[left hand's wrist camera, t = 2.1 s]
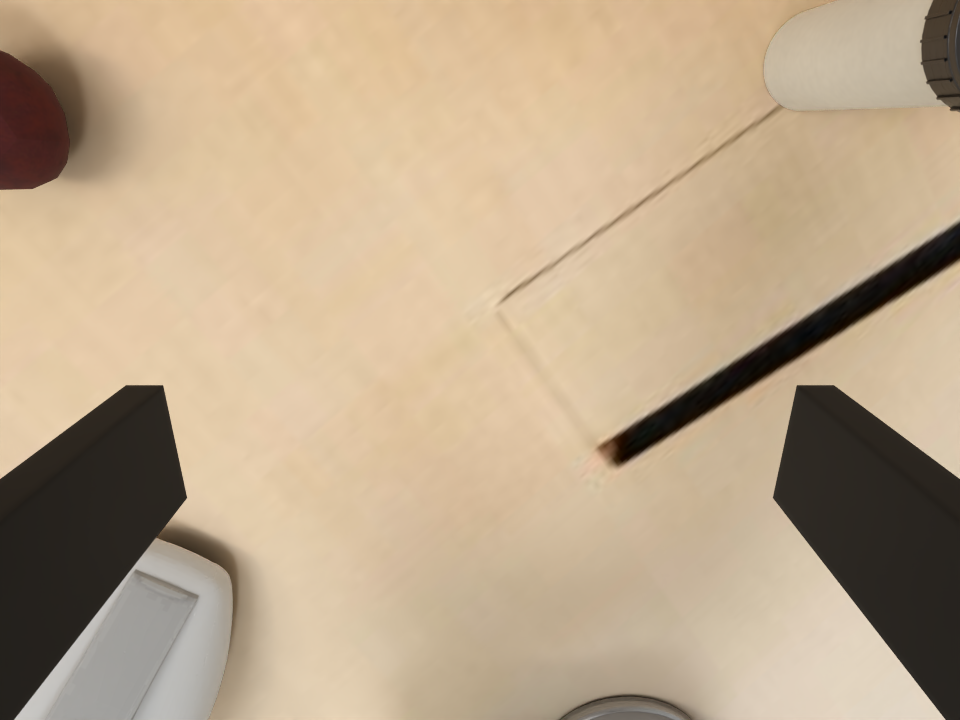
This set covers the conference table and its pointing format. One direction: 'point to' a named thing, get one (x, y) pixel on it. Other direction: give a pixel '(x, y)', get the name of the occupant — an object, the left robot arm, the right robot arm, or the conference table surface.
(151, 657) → the projector
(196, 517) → the conference table surface
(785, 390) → the conference table surface
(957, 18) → the lid
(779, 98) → the jar
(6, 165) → the dark red ball
